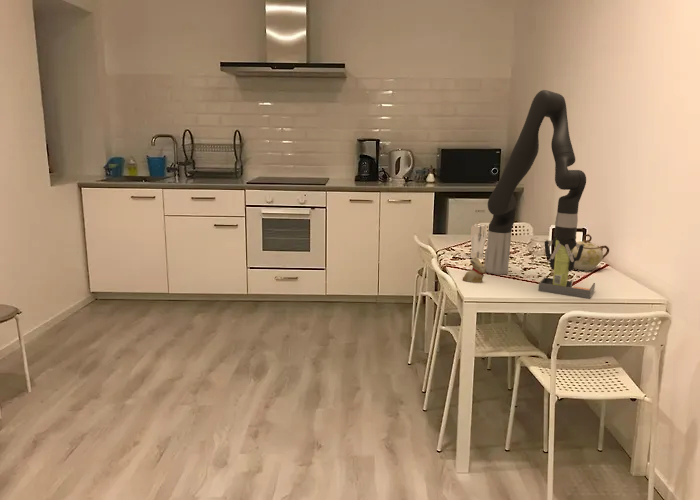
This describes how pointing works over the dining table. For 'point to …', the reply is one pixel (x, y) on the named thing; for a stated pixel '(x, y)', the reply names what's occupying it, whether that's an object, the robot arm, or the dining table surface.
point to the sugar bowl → (589, 255)
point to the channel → (564, 289)
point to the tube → (561, 266)
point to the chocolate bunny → (475, 271)
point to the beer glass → (477, 240)
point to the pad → (581, 288)
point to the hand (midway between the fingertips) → (561, 269)
